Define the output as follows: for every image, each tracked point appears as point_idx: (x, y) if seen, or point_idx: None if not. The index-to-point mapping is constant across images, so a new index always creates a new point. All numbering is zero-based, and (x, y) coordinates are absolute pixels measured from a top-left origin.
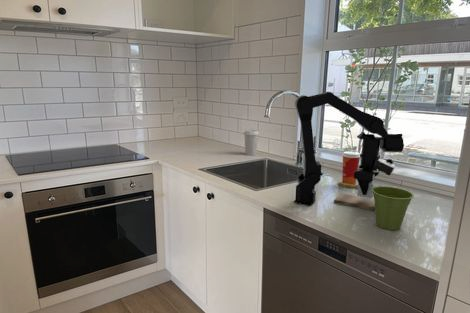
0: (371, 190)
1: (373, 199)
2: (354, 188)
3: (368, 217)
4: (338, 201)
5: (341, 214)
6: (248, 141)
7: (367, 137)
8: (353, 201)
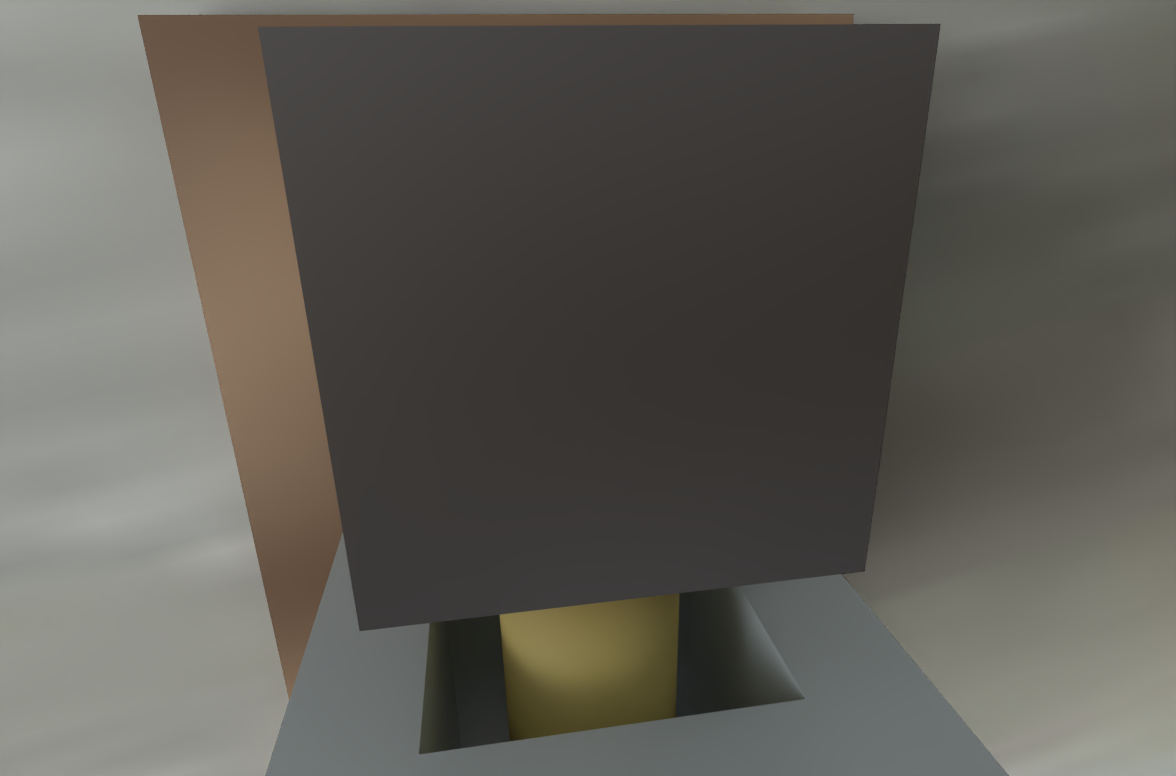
0: (868, 642)
1: (265, 447)
2: None
3: (1164, 279)
4: None
5: (1158, 624)
6: None
7: None
8: None
